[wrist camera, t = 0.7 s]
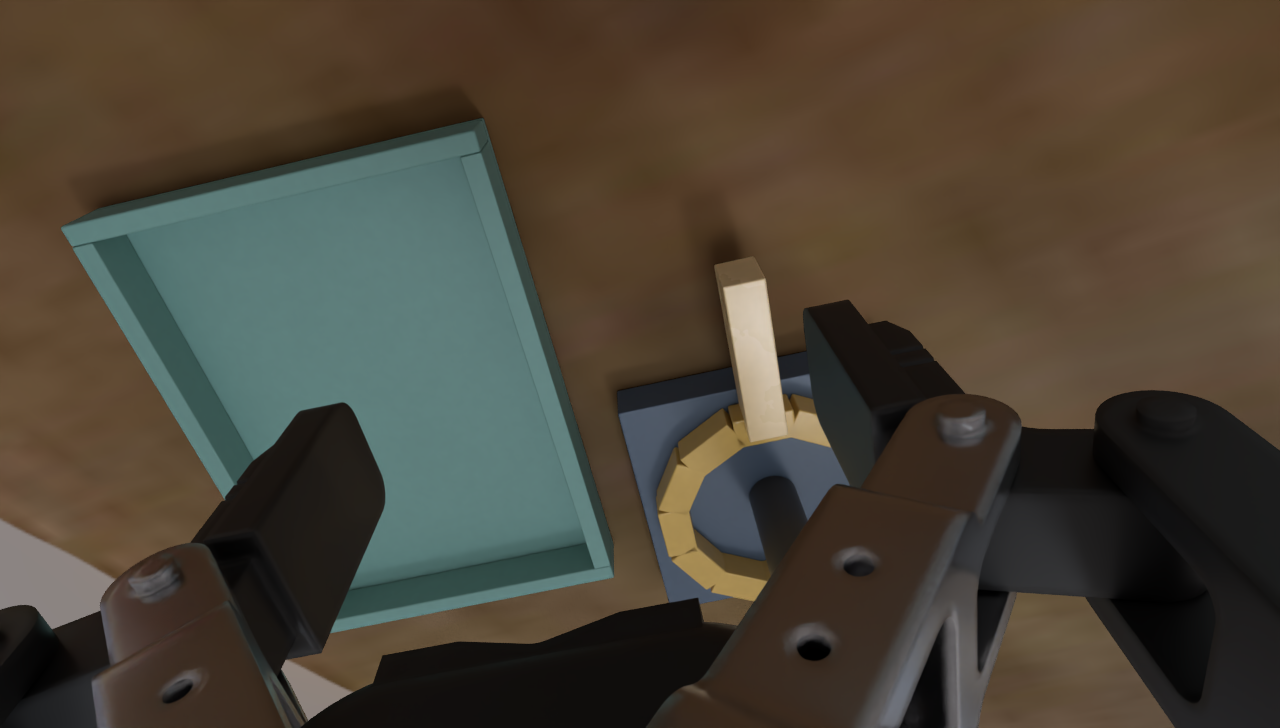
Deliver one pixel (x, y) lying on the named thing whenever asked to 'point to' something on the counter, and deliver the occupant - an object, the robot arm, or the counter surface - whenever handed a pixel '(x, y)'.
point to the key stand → (726, 471)
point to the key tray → (370, 355)
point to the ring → (733, 433)
